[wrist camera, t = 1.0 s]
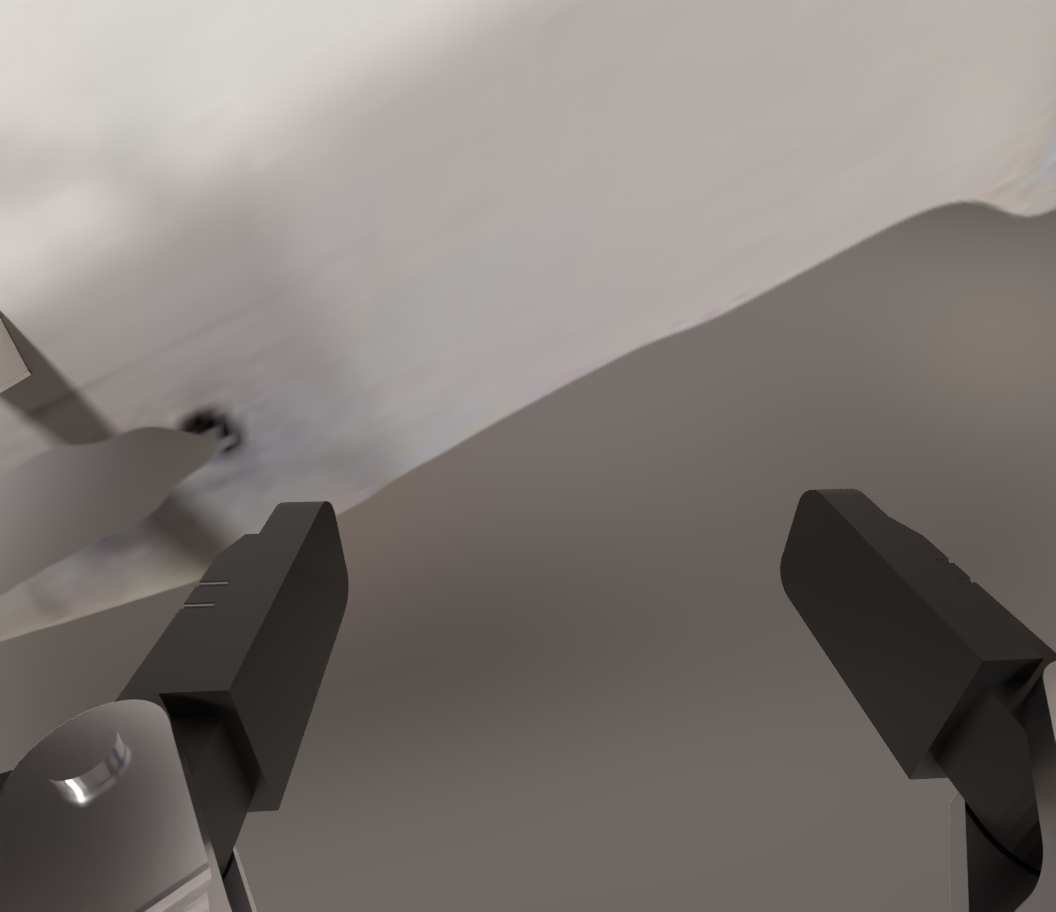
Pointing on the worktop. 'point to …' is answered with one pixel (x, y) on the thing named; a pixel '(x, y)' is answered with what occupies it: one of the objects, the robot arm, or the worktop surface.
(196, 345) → the worktop surface
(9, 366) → the skyscraper
